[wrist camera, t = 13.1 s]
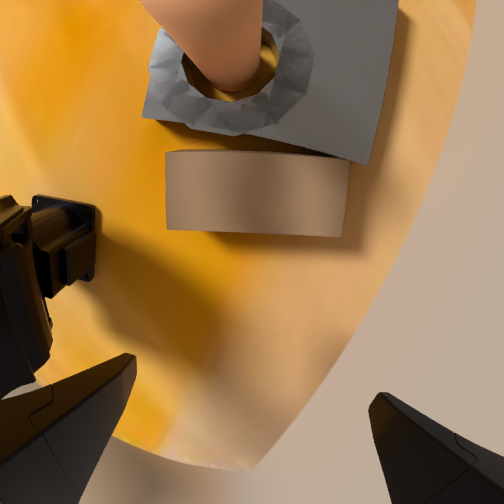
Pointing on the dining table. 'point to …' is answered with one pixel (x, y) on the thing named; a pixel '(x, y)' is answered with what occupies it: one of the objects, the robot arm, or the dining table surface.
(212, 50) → the round peg
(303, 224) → the square bit
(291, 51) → the bore plate
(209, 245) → the dining table surface
